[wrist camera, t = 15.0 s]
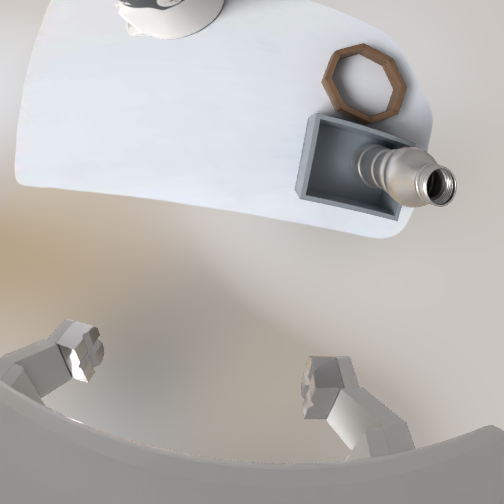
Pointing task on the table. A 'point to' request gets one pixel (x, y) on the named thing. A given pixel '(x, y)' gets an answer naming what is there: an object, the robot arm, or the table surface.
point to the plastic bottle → (404, 175)
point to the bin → (342, 166)
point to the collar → (389, 69)
